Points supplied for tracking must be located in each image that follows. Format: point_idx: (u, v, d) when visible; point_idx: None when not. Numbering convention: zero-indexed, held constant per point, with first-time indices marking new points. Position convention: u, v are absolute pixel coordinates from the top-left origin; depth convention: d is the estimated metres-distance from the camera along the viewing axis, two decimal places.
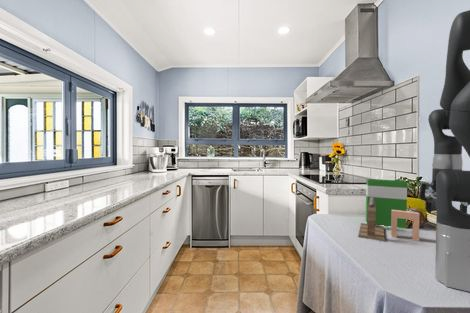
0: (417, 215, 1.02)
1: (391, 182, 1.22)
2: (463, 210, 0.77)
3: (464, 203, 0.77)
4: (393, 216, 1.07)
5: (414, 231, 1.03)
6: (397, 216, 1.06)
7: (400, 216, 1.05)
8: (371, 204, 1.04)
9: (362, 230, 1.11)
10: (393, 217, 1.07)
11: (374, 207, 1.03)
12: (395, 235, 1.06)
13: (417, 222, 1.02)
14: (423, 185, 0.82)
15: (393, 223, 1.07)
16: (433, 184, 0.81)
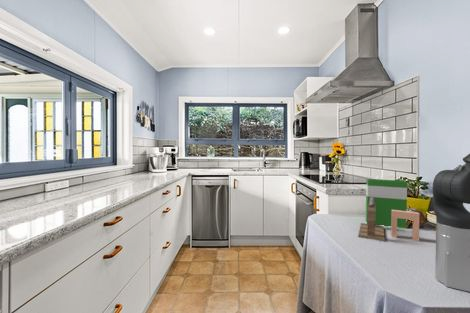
0: (417, 215, 1.02)
1: (391, 182, 1.22)
2: None
3: None
4: (393, 216, 1.07)
5: (414, 231, 1.03)
6: (397, 216, 1.06)
7: (400, 216, 1.05)
8: (371, 204, 1.04)
9: (362, 230, 1.11)
10: (393, 217, 1.07)
11: (374, 207, 1.03)
12: (395, 235, 1.06)
13: (417, 222, 1.02)
14: None
15: (393, 223, 1.07)
16: None
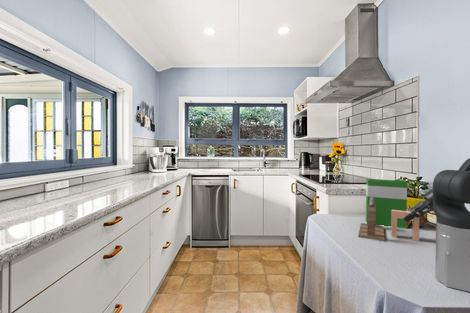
0: None
1: (391, 182, 1.22)
2: None
3: None
4: (393, 216, 1.07)
5: (414, 231, 1.03)
6: (397, 216, 1.06)
7: (400, 216, 1.05)
8: (371, 204, 1.04)
9: (362, 230, 1.11)
10: (393, 217, 1.07)
11: (374, 207, 1.03)
12: (395, 235, 1.06)
13: (417, 222, 1.02)
14: None
15: (393, 223, 1.07)
16: None
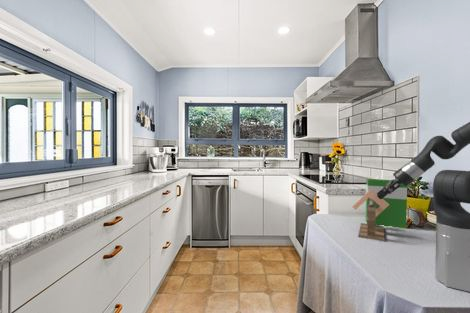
0: (386, 205, 1.08)
1: None
2: None
3: None
4: (367, 194, 1.12)
5: None
6: (370, 196, 1.12)
7: (372, 197, 1.11)
8: (371, 204, 1.04)
9: (362, 230, 1.11)
10: (366, 195, 1.12)
11: (374, 207, 1.03)
12: (356, 208, 1.15)
13: (381, 209, 1.09)
14: (399, 186, 1.02)
15: (362, 199, 1.13)
16: None
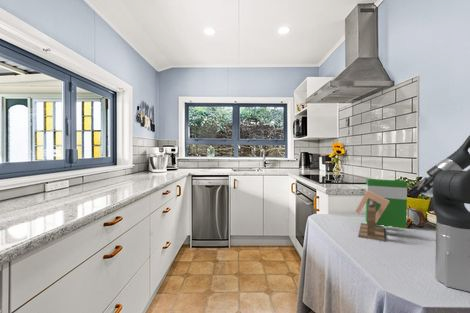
0: (387, 202, 1.08)
1: (391, 182, 1.22)
2: None
3: None
4: (366, 195, 1.13)
5: (377, 214, 1.10)
6: (369, 196, 1.12)
7: (372, 197, 1.11)
8: (371, 204, 1.04)
9: (362, 230, 1.11)
10: (365, 196, 1.13)
11: (374, 207, 1.03)
12: (359, 211, 1.14)
13: (383, 208, 1.09)
14: None
15: (362, 201, 1.13)
16: None
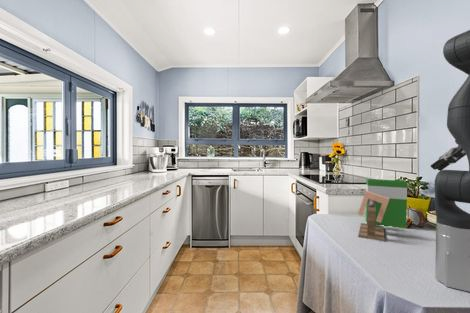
0: (387, 200, 1.08)
1: (391, 182, 1.22)
2: None
3: None
4: (365, 196, 1.13)
5: (379, 213, 1.09)
6: (368, 197, 1.12)
7: (371, 198, 1.11)
8: (371, 204, 1.04)
9: (362, 230, 1.11)
10: (365, 197, 1.13)
11: (374, 207, 1.03)
12: (361, 213, 1.14)
13: (385, 206, 1.08)
14: None
15: (363, 203, 1.13)
16: None
